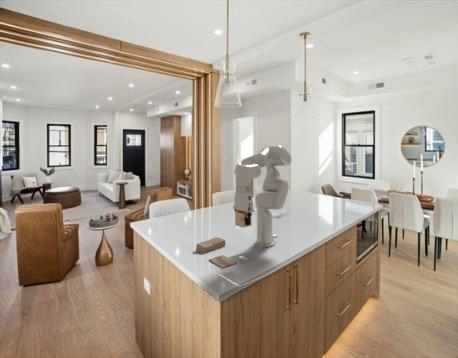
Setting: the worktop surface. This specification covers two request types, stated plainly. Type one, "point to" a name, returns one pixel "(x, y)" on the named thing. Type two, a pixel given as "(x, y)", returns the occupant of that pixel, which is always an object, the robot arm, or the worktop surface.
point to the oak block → (241, 219)
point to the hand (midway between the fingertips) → (243, 223)
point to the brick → (210, 245)
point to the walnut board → (222, 261)
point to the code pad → (243, 258)
